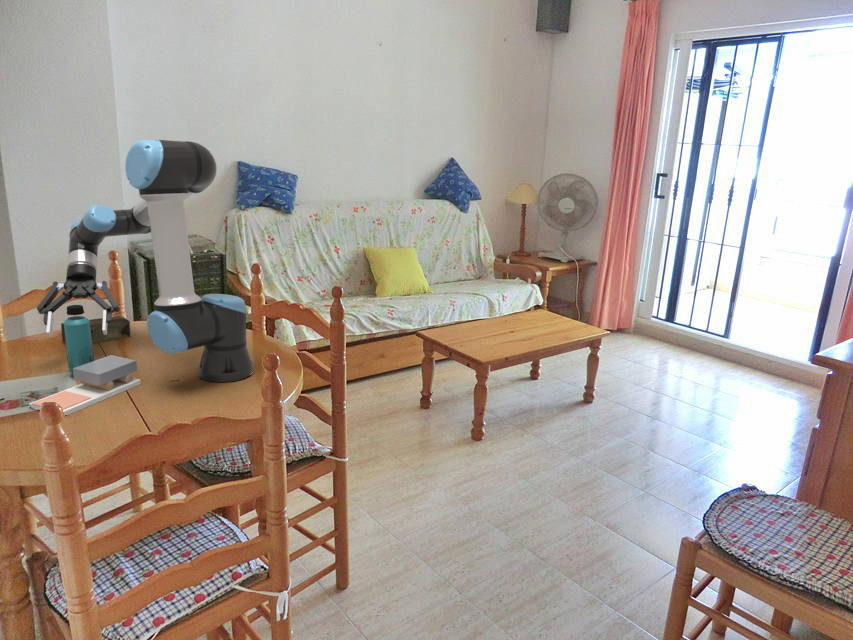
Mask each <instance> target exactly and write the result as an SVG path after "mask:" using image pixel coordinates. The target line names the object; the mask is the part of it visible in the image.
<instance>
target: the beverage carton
mask: <svg viewBox="0 0 853 640" xmlns="http://www.w3.org/2000/svg"><path fill="white" fill-rule="evenodd" d="M88 320H89V321H90V331H91V339H92V344H95V343H102V342H107V341H113V340H114V341H115V340H121V339H126V338H127V339H128V338H131V332H132V331H131V322H130V320H128V319H127V318H126V317H124V316H123V315H117V316H112V322H111V323H107V335H104V334H103V331H102V326H103V317H101V318H93V319H88ZM60 329H61V330H60V331H61V339H62V342H63V343H65V344H66V338H65V330H64V322H61V325H60Z"/></svg>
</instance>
